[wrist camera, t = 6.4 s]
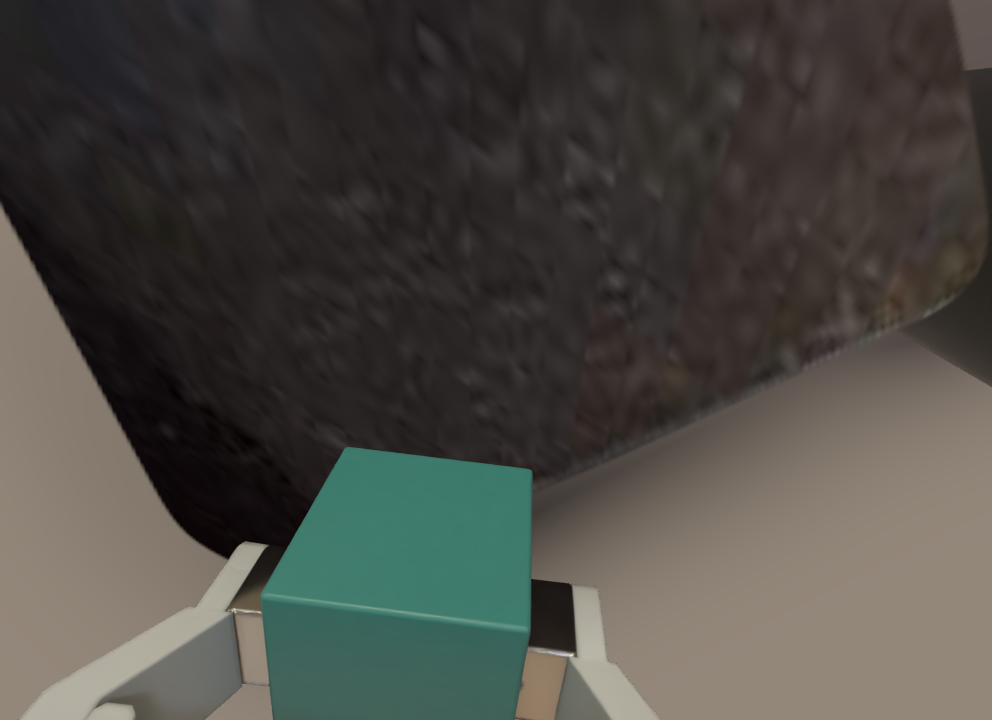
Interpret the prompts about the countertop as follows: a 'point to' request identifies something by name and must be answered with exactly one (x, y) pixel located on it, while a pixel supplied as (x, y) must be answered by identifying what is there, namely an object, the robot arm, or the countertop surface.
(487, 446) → the countertop surface
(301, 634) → the block
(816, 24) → the countertop surface
